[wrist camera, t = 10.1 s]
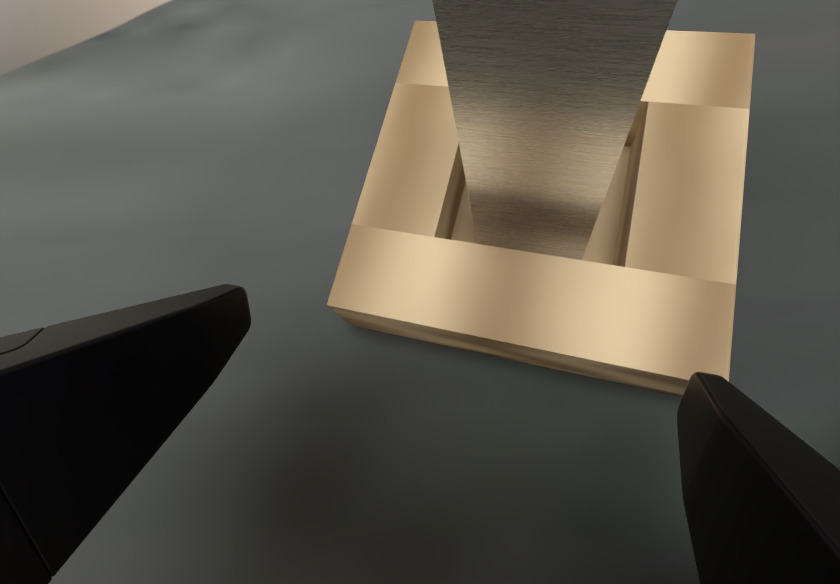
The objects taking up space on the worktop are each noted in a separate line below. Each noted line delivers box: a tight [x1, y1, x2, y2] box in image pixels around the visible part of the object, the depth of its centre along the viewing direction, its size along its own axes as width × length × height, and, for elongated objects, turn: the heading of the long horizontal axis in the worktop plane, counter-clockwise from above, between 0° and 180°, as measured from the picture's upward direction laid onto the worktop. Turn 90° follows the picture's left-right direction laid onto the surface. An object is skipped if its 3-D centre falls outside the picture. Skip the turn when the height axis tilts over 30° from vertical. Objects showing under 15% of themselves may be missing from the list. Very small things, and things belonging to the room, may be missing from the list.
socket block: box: [327, 21, 755, 397], centre depth 20 cm, size 14×14×4 cm
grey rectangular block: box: [433, 0, 677, 260], centre depth 15 cm, size 4×4×14 cm
